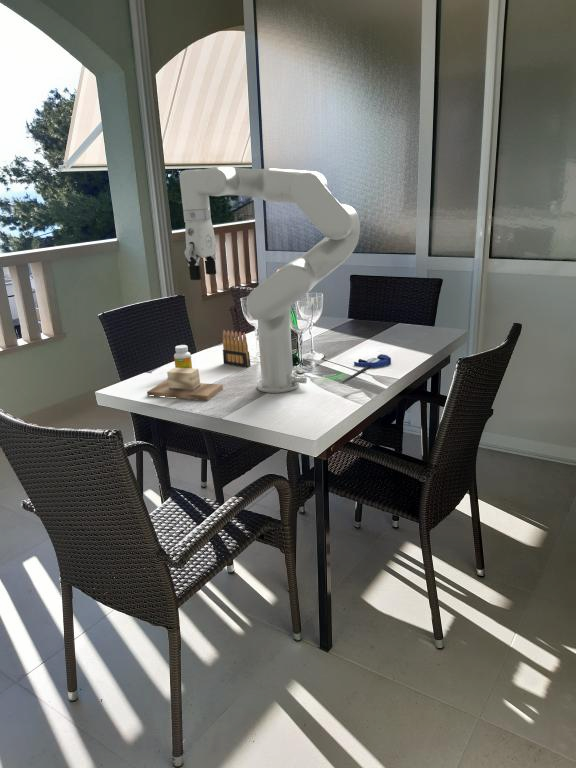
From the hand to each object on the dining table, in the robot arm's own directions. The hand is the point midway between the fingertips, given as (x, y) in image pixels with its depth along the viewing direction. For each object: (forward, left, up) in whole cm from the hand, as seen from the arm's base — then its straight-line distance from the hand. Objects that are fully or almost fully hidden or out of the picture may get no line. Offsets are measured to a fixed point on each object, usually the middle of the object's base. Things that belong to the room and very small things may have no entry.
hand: (203, 276), depth 176 cm
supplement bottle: (+15, -8, -34) cm, 38 cm away
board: (+6, +8, -33) cm, 35 cm away
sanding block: (+6, +8, -32) cm, 33 cm away
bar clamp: (-40, -18, -34) cm, 56 cm away
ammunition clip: (+2, -21, -34) cm, 40 cm away
